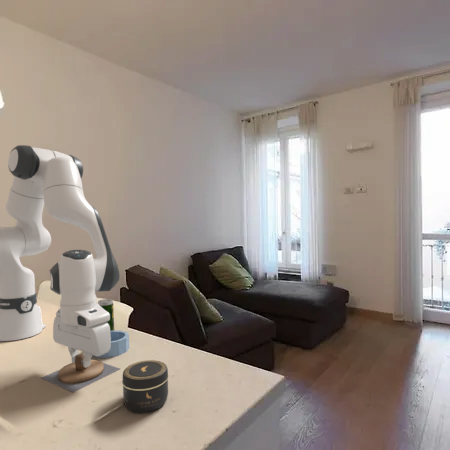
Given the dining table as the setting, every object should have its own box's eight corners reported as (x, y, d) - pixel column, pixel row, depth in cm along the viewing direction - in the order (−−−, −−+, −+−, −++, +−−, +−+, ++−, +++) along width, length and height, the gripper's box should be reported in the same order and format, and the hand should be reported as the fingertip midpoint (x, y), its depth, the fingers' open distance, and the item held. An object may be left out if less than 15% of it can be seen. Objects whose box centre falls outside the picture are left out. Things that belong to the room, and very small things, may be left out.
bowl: (84, 355, 103) (83, 339, 103) (113, 343, 112) (113, 328, 112) (107, 363, 97) (106, 345, 97) (136, 350, 106) (135, 334, 106)
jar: (126, 420, 70) (125, 383, 69) (120, 396, 79) (119, 364, 79) (173, 408, 74) (172, 373, 73) (163, 387, 83) (162, 356, 83)
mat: (40, 380, 87) (40, 377, 87) (88, 360, 99) (88, 357, 99) (72, 395, 80) (72, 392, 80) (120, 371, 91) (120, 368, 91)
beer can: (100, 337, 117) (99, 303, 117) (96, 333, 122) (95, 300, 121) (116, 334, 120) (115, 301, 120) (112, 330, 125) (110, 298, 124)
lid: (49, 376, 88) (48, 358, 87) (86, 360, 97) (86, 344, 97) (75, 387, 82) (74, 368, 82) (112, 369, 91) (111, 352, 91)
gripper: (45, 310, 92) (47, 360, 92) (92, 321, 81) (94, 379, 81) (67, 304, 97) (69, 352, 98) (114, 314, 86) (116, 368, 86)
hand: (81, 364), depth 89 cm, fingers closed on lid, 3 cm apart
